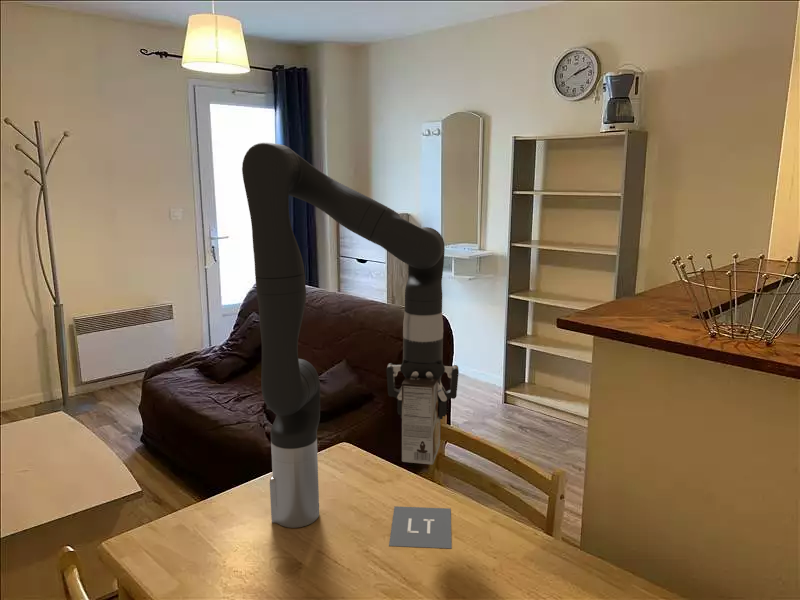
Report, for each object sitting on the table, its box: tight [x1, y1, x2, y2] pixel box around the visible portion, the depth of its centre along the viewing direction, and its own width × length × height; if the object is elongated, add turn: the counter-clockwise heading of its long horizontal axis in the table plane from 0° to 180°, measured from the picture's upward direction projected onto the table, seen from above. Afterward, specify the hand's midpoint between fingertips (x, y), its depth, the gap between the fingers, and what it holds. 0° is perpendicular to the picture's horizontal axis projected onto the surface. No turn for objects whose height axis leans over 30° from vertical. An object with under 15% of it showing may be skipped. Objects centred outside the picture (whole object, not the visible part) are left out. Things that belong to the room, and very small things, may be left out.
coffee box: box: [401, 376, 442, 465], centre depth 119 cm, size 9×6×16 cm
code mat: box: [388, 505, 453, 550], centre depth 124 cm, size 12×14×1 cm
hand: (421, 416), depth 119 cm, fingers closed on coffee box, 7 cm apart
